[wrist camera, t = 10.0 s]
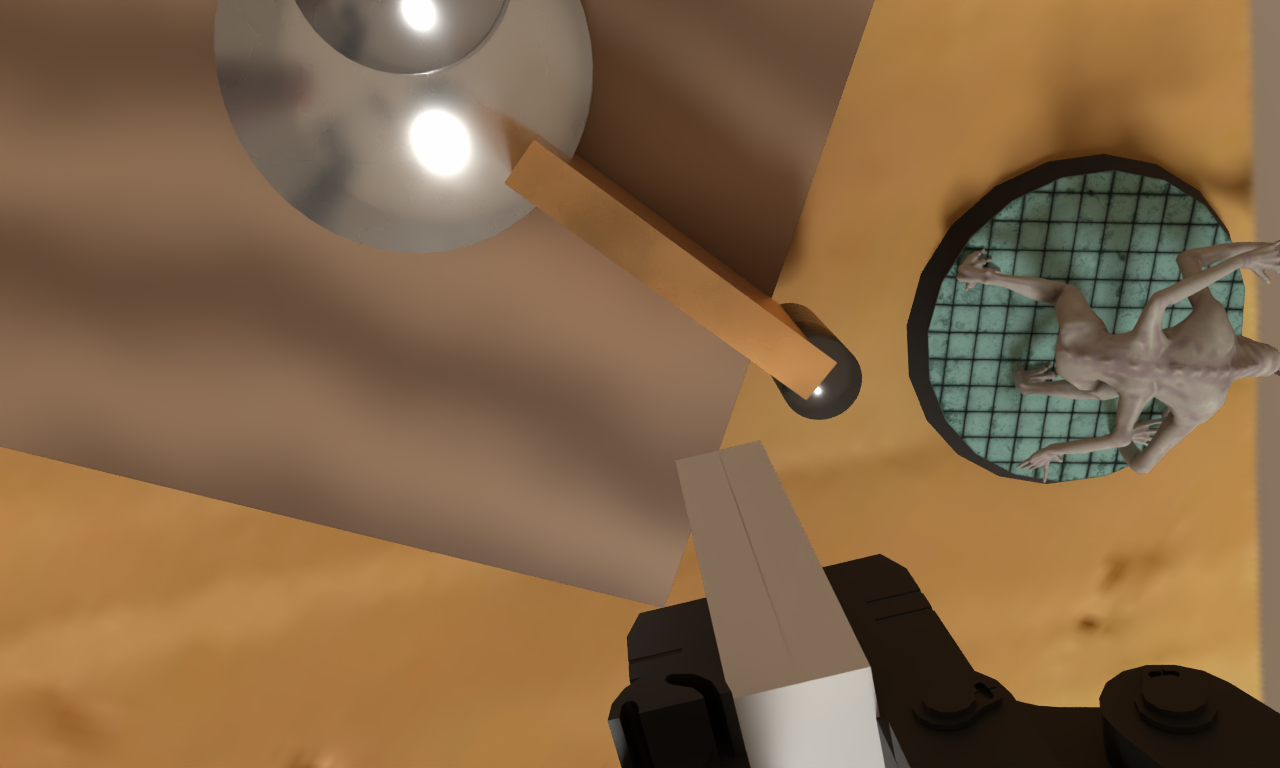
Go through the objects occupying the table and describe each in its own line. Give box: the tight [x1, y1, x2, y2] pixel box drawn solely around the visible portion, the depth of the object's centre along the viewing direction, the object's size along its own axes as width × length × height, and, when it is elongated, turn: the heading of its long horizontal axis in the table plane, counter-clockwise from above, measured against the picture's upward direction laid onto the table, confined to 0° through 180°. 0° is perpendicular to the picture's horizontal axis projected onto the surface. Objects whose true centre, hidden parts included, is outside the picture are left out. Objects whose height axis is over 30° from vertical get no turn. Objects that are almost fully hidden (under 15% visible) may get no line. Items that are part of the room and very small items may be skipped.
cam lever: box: [214, 0, 862, 420], centre depth 23 cm, size 18×12×5 cm
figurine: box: [907, 154, 1280, 484], centre depth 27 cm, size 11×12×6 cm
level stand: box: [0, 0, 874, 608], centre depth 26 cm, size 24×22×2 cm
